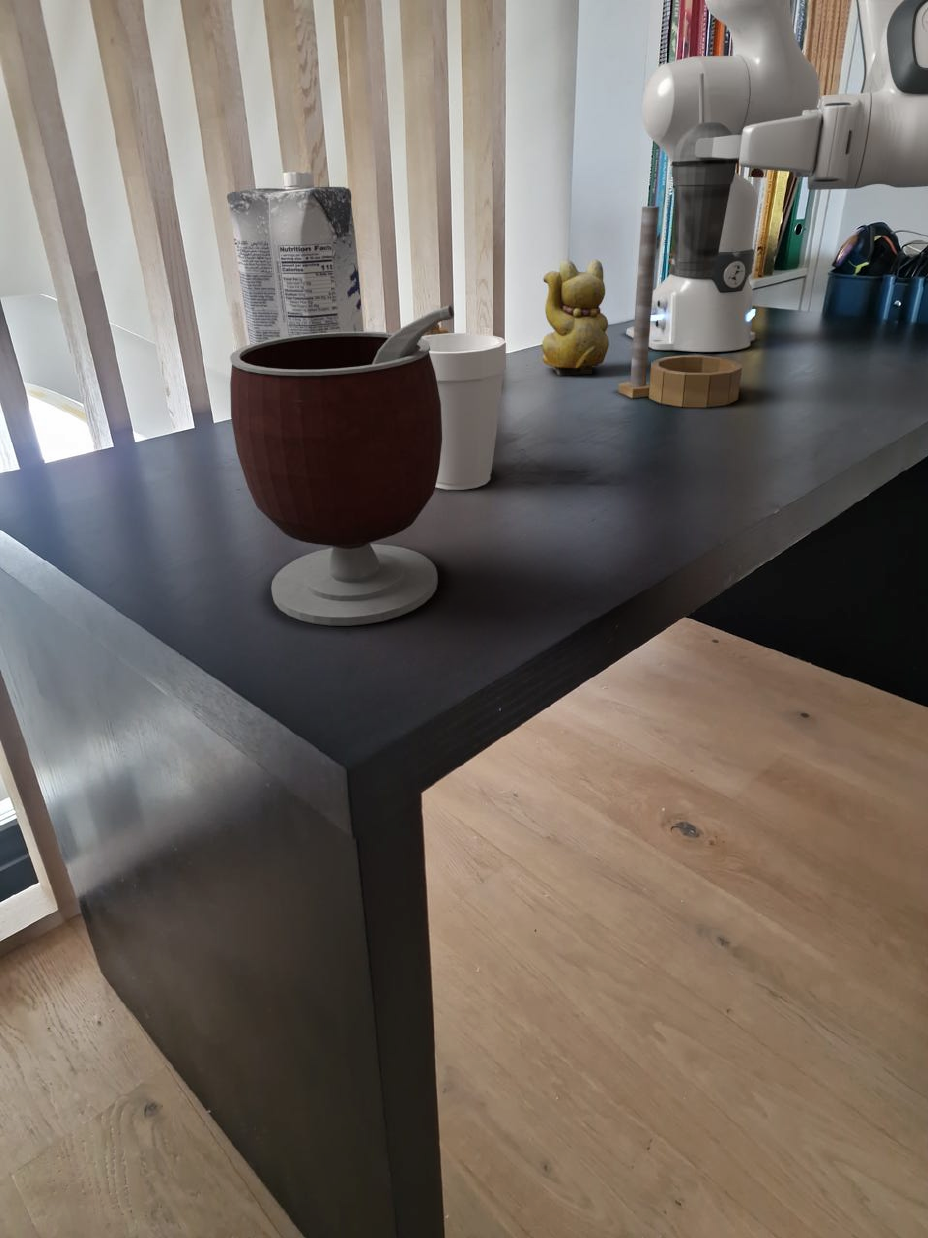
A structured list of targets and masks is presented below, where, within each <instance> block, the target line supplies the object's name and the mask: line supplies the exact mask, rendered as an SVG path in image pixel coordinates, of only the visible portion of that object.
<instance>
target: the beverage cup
mask: <svg viewBox="0 0 928 1238" xmlns="http://www.w3.org/2000/svg"><path fill="white" fill-rule="evenodd" d="M730 135H732V133H731V131H730V130H729V129H728V128H727V127H726V126H724V125H723V124H721V123H719V122H705V123H704V74H699V123H697V124H696V125H694V126H692V127H691V128H689V129H688V130H687V131H686V132H685V133H684V134H683V136H682V137H681V139H680V140H679V142H678V144H677V146H676V149H675V152H674V156H673V162H672V164H671V163H670V166H671V167H672V169H671V177H672V185H673V253H674V261H675V275H676V276H684V277H702V276H711V275H714V269H715V266H716V261H717V258H718V253H719V247H720V242H721V236H722V231H723V225H724V220H725V214H726V209H727V203H728V198H729V192H730V187H731V183H732V182H733V179H734V175H735V172H736V171H737V164H739V158H712V157H711V158H698V157H696V156H695V148H696V142H697V140H698V139H700V138H716V137H723V136H730Z"/></svg>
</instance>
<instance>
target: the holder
mask: <svg viewBox="0 0 928 1238" xmlns="http://www.w3.org/2000/svg"><path fill="white" fill-rule="evenodd" d="M659 216H660V206H658V205H657V206H656V205H653V206H651V205H649V206H648V205H647V206H642V207H641V217H640V218H641V219H640V232H639V247H638V250H639V251H638V260H637V275H636V276H637V277H636V290H635V291H636V292H635V305H634V306H635V307H634V324H633V327H634V335H633V338H632V352H631V367H630V381H626V382H620V383H618V393H619V394H621V395H623V396H625V397H629V398H631V399H640V398H646V397H648V398H649V399H650V400H652V401H654V402H656V403H659V404H661V405H665V406H666V405H667V406H674V407H679V408H705V409H706V408H715V407H722V406H728V405H730V404H732V403H734V402H736V401H738V400H739V393H740V385H741V377H742V371H743V370H742V369H743V367H742V365H741V363H740V362H739V361H737V360H733V359H731V358H726V357H721V356H720V357H719V356H711V355H688V354H686V355H674V356H665V357H660V358H658V359H655V360H652V361H651V362H650V369H649V381H647V376H648V375H647V372H648V360H649V350H650V349H649V348H650V347H649V336H650V323H651V310H652V297H653V291H654V281H655V270H656V269H655V268H656V258H657V257H656V256H657V244H658V242H657V241H658V231H659Z"/></svg>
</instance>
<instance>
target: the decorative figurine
mask: <svg viewBox="0 0 928 1238" xmlns="http://www.w3.org/2000/svg"><path fill="white" fill-rule="evenodd" d="M559 265H560V266H559V272H558V271H555V270H551V271H548V272H547V273H545V274H544V276H543V279H542V280H543V282H544V283H546V284H547V286H548V293H547V297H546V301H545V308H544V310H545V317H546V320H547V322H548V324H549V325H550V326H551V328H552V329H553V330H554V331H553V332H549V333H547V334H546V335H544V337H543V339H542V343H541V349H542V352H543V355H542V357H541V358H542V361H543V363H544V364H545V365H547V366H549V367H552V368H553V370H554V371H555V373H556V374H557V375H558V376H559V377H564V376H577V375H579V376H581V375H592V374H593V367H597V366H599V365H601V364H603V363H604V361H605V358H606V356H607V353H608V349H609V345H610V341H609V337H608V334H607V333H606V332H607V330H608V327H609V320H608V318H607V317H606V315H605V314H604V313H602V312H601V311H602V310H601V308H600V305H602V303H603V302H604V299H605V297H606V285H605V281H604V268H603V264H602V262H601V261H600V260H598V259H593V260H591V261H590V262H589V263H588V265H587V267H586V270H585V271H579V270H578V268H577V267H576V265H575V264H574V262H573V261H571V260H570V259H564V260H562V261H561V263H560V264H559Z"/></svg>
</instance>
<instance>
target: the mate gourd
mask: <svg viewBox="0 0 928 1238" xmlns="http://www.w3.org/2000/svg"><path fill="white" fill-rule="evenodd" d="M454 318H455V311H454V308H453V306H452V305H451V304H450V305H446V306H442V307H441V308H438V309H435V310H433V311H431V312H428V313H427V314H425V315H423V316H421V317H420V318H417V319H416V320H413V321H412V322H409V324H406V325H404V326H403V327H402V328H400V329H398V330H397V331H396V332H384V331H383V332H382V331H364V332H360V331H357V332H328V333H315V334H304V335H296V336H288V337H282V338H276V339H271V340H267V341H262V342H258V343H255V344H251V345H250V344H248V345H245V346H243V347H240V348H238V349H236V350H235V351H233V352H232V353H231V355H230V357H229V360H230V363H231V370H230V371H231V372H230V381H229V382H230V384H229V385H230V388H229V390H230V419H231V424H232V430H233V437H234V443H235V449H236V453H237V457H238V461H239V463H240V467H241V469H242V472H243V475H244V479H245V481H246V482H245V483H246V485H247V488H248V490H249V492H250V495H251V497H252V499H253V501H254V503H255V507H256V508H257V509H258V510H260V511H261V513H262V514H263V515H264V516H265V517H267V518H268V519H269V520H270V521H271V522H272V523H273V524H274V525H275V526H276V527H277V528H278V529H279V530H280V531H281V532H283V534H284V535H285V536H288V537H290V538H291V539H293V540H296V541H299V542H302V543H308V544H313V545H320V546H329V548H324V549H320V550H318V551H313V552H311V553H308V554H305V555H303V556H301V557H298V558H296V559H294V560H292V561H291V562H289V563H288V564H286V565H285V566H283V567H282V568H281V569H280V570H279V571H278V572H277V573H276V574H275V576H274V578H273V579H272V582H271V588H270V590H271V595H272V599H273V603H274V604H275V606H276V607H277V608H278V609H279V611H280V612H282V613H284V614H286V615H287V616H288V617H291V618H294V619H296V620H298V621H302V622H306V623H310V624H315V625H322V626H330V627H331V626H335V627H337V626H341V627H342V626H343V627H344V626H345V627H350V626H360V625H361V626H362V625H369V624H375V623H381V622H384V621H388V620H391V619H394V618H399V617H401V616H402V615H406V614H408V613H410V612H412V611H414V610H416V609H417V608H419V607H421V606H422V605H424V604H425V603H426V602H427V601H429V600H430V599H431V598H432V597H433V595H434V594H435V592H436V590H437V587H438V583H439V581H438V580H439V579H438V571H437V567H436V566H435V564H434V563H433V561H431V560H430V559H429V558H428V557H426V556H425V555H423V554H421V553H419V552H417V551H415V550H411V549H408V548H405V547H401V546H395V545H392V544H391V545H390V544H377V543H374V542H377V541H380V540H383V539H386V538H390V537H392V536H395V535H397V534H399V533H401V532H403V531H405V530H407V529H408V528H409V527H411V526H412V525H413V524H414V522H415V521H416V520H417V518H418V517H419V515H420V514H421V513H422V512H423V510H424V509H425V507H426V505H427V504H428V503H429V501H430V499H432V497H433V495H434V493H435V491H436V487H435V486H436V481H437V477H438V472H439V466H440V456H441V447H442V420H441V402H440V396H439V391H438V386H437V380H436V375H435V370H434V367H433V364H432V360H431V357H430V353H429V351H430V345H429V343H428V342H427V341H425V340H423V339H421V337H422V336H423V335H424V334H425V333H426V332H427V331H428V330H429V329H430V328H431V327H432V326H434V325H435V324H437V323H438V324H439V323H441V322H443V321H449V320H453V319H454Z"/></svg>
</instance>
